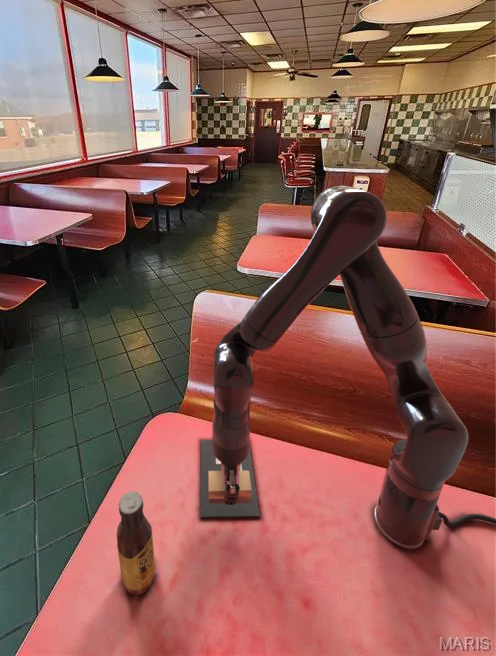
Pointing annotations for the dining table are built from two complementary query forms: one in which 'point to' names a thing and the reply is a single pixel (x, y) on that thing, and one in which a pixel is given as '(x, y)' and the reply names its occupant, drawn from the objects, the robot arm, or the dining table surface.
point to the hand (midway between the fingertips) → (229, 490)
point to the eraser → (218, 488)
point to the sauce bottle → (135, 545)
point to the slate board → (223, 510)
